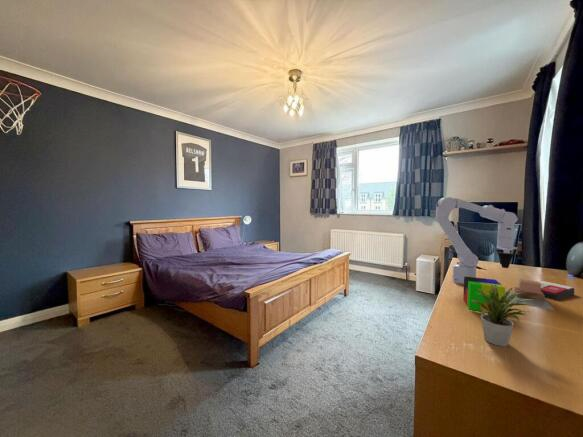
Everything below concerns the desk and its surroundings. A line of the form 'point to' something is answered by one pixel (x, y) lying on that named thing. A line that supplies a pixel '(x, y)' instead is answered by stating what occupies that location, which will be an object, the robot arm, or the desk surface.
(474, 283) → the puzzle toy
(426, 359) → the desk surface
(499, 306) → the house plant
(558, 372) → the desk surface
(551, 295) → the calculator
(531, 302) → the baseplate
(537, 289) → the terracotta brick
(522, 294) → the walnut base brick
